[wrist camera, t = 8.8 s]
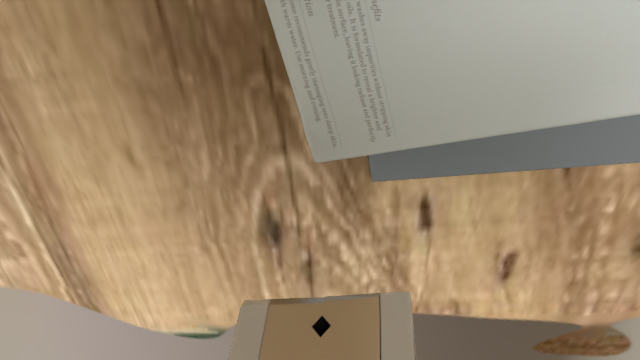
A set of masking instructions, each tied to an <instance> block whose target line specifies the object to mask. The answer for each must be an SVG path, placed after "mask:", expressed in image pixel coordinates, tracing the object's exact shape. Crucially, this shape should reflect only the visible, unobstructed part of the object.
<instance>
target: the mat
mask: <svg viewBox="0 0 640 360" xmlns="http://www.w3.org/2000/svg"><path fill="white" fill-rule="evenodd" d="M368 157H369V165H370V172H371V180H372V182H375V181H389V180H403V179H417V178H431V177H445V176H458V175H472V174H486V173H500V172H514V171H528V170H541V169H555V168H569V167H583V166H597V165H610V164H624V163H638V162H640V114H638V115H631V116H625V117H618V118H612V119H605V120H598V121H592V122H585V123H579V124H573V125H566V126H558V127H551V128H544V129H538V130H531V131H526V132H519V133H511V134H505V135H498V136H492V137H485V138H478V139H472V140H465V141H458V142H452V143H445V144H439V145H432V146H426V147H419V148H413V149H406V150H399V151H393V152H386V153H380V154H374V155H368Z"/></svg>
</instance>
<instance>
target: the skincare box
mask: <svg viewBox="0 0 640 360" xmlns="http://www.w3.org/2000/svg"><path fill="white" fill-rule="evenodd" d="M264 1H265V4H266V7H267V10H268V13H269V16H270V19H271V23H272V26H273V29H274V33H275V36H276V39H277V42H278V46H279V49H280V52H281V55H282V58H283V61H284V64H285V67H286V71H287V74H288V77H289V80H290V83H291V87H292V90H293V93H294V96H295V100H296V103H297V106H298V110H299V113H300V116H301V120H302V124H303V129H304V133H305V135H306V138H307V141H308V144H309V147H310V150H311V153H312V156H313V159H314V161H315V162H316V163H321V162H328V161H335V160H341V159H348V158H355V157H361V156H367V155H374V154H380V153H386V152H393V151H399V150H406V149H413V148H419V147H426V146H432V145H439V144H445V143H452V142H458V141H465V140H472V139H478V138H485V137H492V136H498V135H505V134H511V133H519V132H526V131H531V130H538V129H544V128H551V127H558V126H566V125H573V124H579V123H585V122H592V121H598V120H605V119H612V118H618V117H625V116H631V115H638V114H640V0H264Z"/></svg>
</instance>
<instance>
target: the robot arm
mask: <svg viewBox="0 0 640 360" xmlns="http://www.w3.org/2000/svg"><path fill="white" fill-rule="evenodd" d="M413 330H414V329H413V319H412V308H411V298H410V292H395V293H381V294H380V293H373V294H358V295H343V296H328V297H324V298H290V299H267V300H245V301H244V303H243V304H242V306H241V308H240V311H239V315H238V320H237V324H236V328H235V332H234V337H233V341H232V345H231V349H230V354H229V358H228V360H416V350H415V339H414V331H413Z"/></svg>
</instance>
